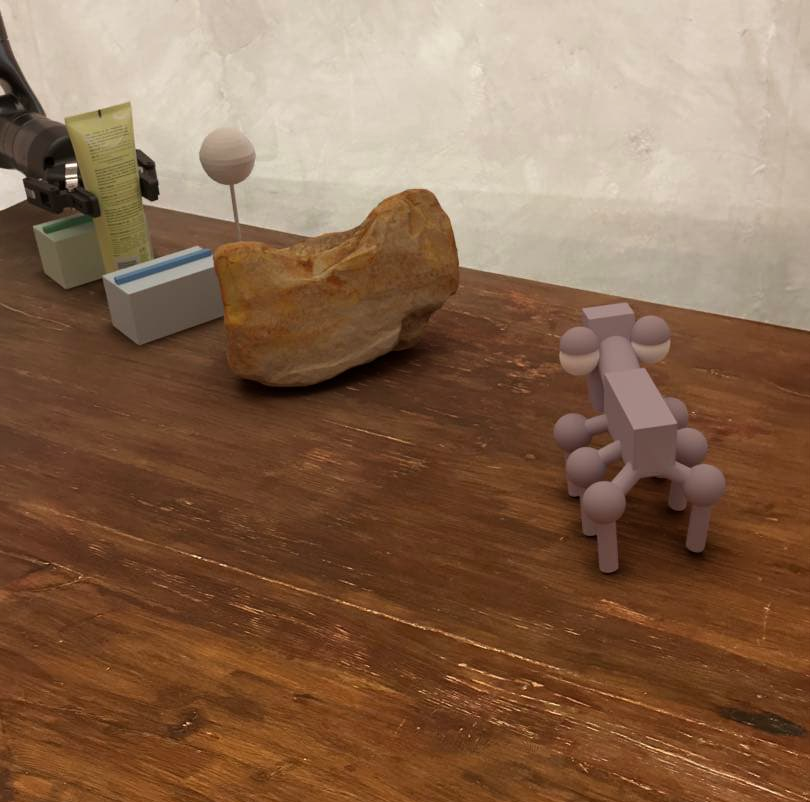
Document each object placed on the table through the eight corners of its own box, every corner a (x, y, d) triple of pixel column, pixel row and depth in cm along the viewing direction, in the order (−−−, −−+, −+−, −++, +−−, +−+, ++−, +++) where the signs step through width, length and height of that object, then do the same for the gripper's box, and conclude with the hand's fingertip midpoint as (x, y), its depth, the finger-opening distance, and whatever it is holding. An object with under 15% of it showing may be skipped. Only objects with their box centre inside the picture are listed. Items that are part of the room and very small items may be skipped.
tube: (119, 280, 126) (82, 100, 114) (164, 280, 125) (130, 99, 114) (104, 302, 121) (63, 117, 110) (150, 302, 121) (113, 116, 109)
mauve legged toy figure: (526, 434, 96) (530, 286, 88) (648, 422, 97) (663, 274, 89) (581, 580, 80) (592, 416, 72) (726, 565, 81) (753, 401, 73)
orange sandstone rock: (414, 297, 121) (399, 155, 112) (479, 351, 107) (467, 194, 99) (204, 350, 115) (171, 204, 107) (245, 413, 101) (212, 253, 93)
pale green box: (65, 289, 124) (52, 236, 121) (44, 273, 128) (31, 220, 125) (155, 261, 130) (145, 209, 126) (131, 246, 133) (121, 195, 130)
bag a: (139, 346, 113) (126, 288, 109) (112, 325, 117) (100, 269, 113) (233, 312, 118) (225, 256, 114) (205, 294, 122) (196, 239, 118)
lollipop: (279, 257, 129) (263, 124, 120) (248, 276, 125) (229, 140, 116) (236, 248, 132) (217, 117, 123) (205, 267, 128) (183, 133, 119)
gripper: (-13, 141, 120) (51, 181, 109) (110, 111, 127) (182, 146, 116) (6, 209, 125) (68, 254, 114) (123, 177, 131) (193, 216, 121)
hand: (125, 199), depth 115 cm, fingers closed on tube, 6 cm apart
